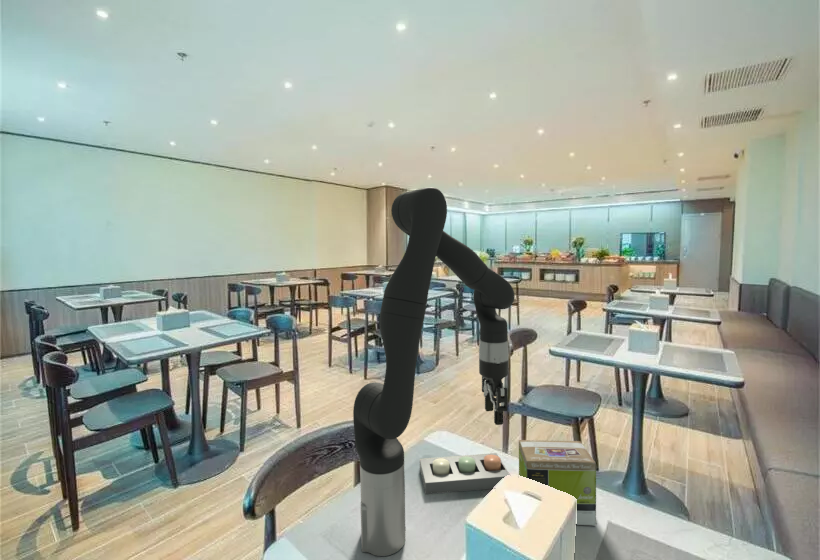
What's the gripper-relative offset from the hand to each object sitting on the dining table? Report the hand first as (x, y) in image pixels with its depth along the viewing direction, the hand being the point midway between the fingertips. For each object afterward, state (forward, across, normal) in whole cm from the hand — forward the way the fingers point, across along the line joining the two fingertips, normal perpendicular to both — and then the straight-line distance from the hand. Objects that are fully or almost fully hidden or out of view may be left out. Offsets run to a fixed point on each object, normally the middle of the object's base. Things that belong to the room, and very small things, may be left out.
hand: (493, 417), depth 101 cm
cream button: (+13, 0, -14) cm, 20 cm away
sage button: (+13, 0, -7) cm, 15 cm away
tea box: (+17, +15, +10) cm, 24 cm away
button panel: (+16, 0, -8) cm, 18 cm away
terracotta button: (+13, 0, 0) cm, 13 cm away
